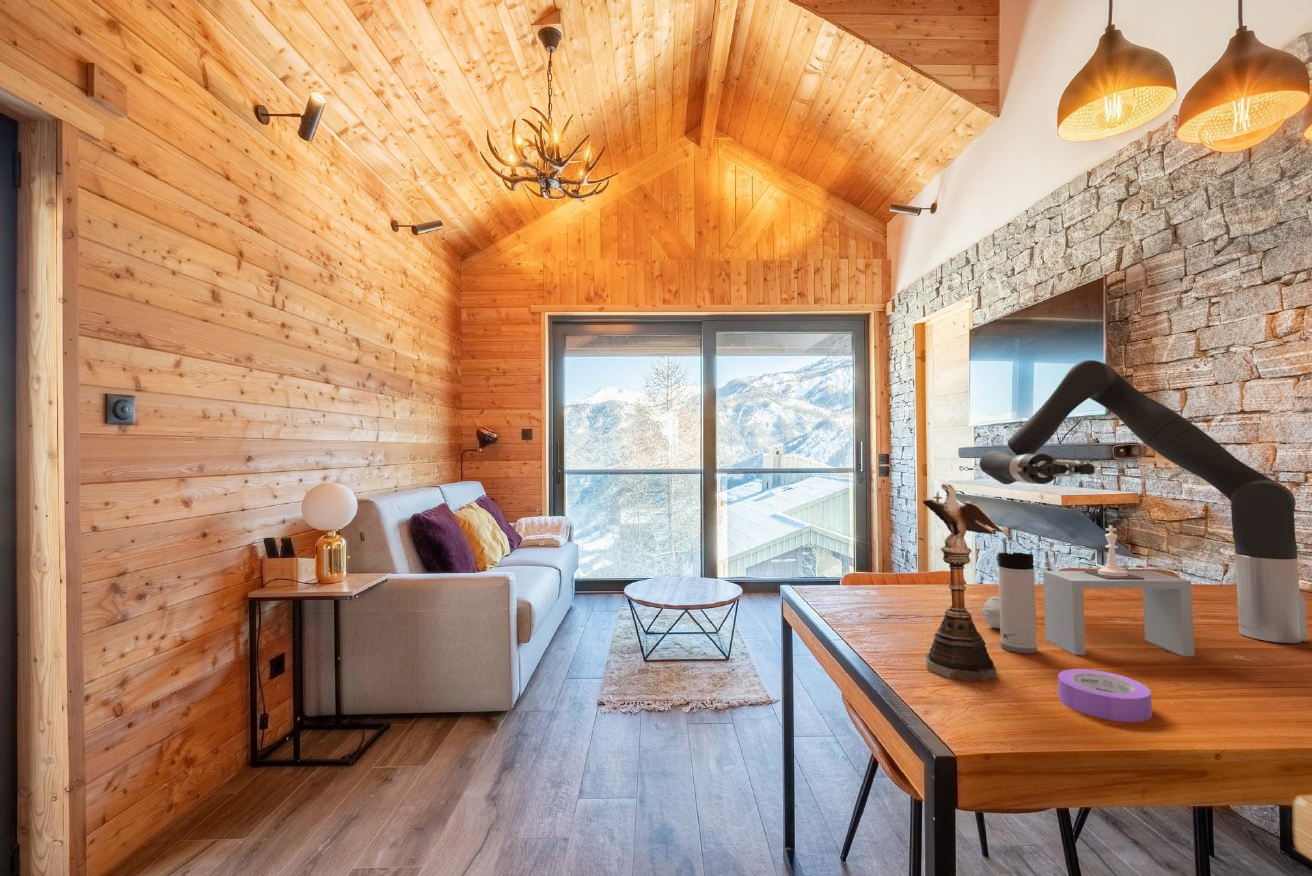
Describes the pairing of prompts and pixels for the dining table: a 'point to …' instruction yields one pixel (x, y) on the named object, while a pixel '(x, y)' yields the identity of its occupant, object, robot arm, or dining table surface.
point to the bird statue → (960, 595)
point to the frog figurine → (992, 612)
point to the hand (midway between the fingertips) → (1072, 469)
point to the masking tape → (1105, 695)
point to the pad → (1113, 576)
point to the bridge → (1161, 593)
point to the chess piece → (1112, 557)
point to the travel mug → (1017, 602)
